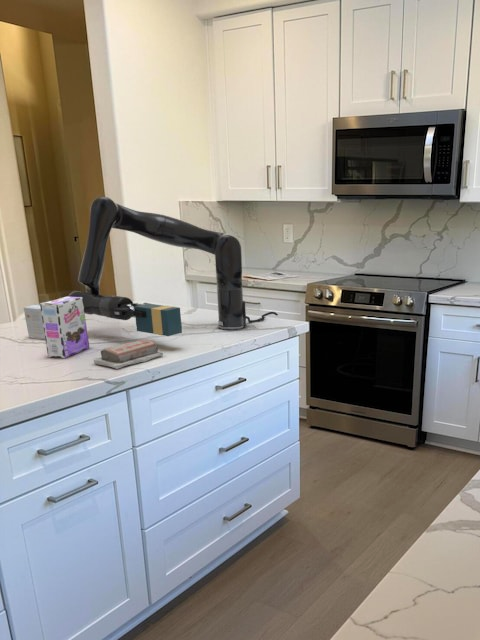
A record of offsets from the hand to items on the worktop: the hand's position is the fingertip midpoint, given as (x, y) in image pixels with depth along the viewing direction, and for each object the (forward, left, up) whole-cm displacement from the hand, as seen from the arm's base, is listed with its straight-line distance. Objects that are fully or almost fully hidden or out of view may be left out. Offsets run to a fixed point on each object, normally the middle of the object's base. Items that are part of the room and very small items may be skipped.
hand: (152, 312), depth 194 cm
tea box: (-1, +2, -2) cm, 3 cm away
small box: (+26, -34, -11) cm, 45 cm away
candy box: (+25, -7, -11) cm, 29 cm away
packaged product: (+14, +13, -11) cm, 22 cm away
